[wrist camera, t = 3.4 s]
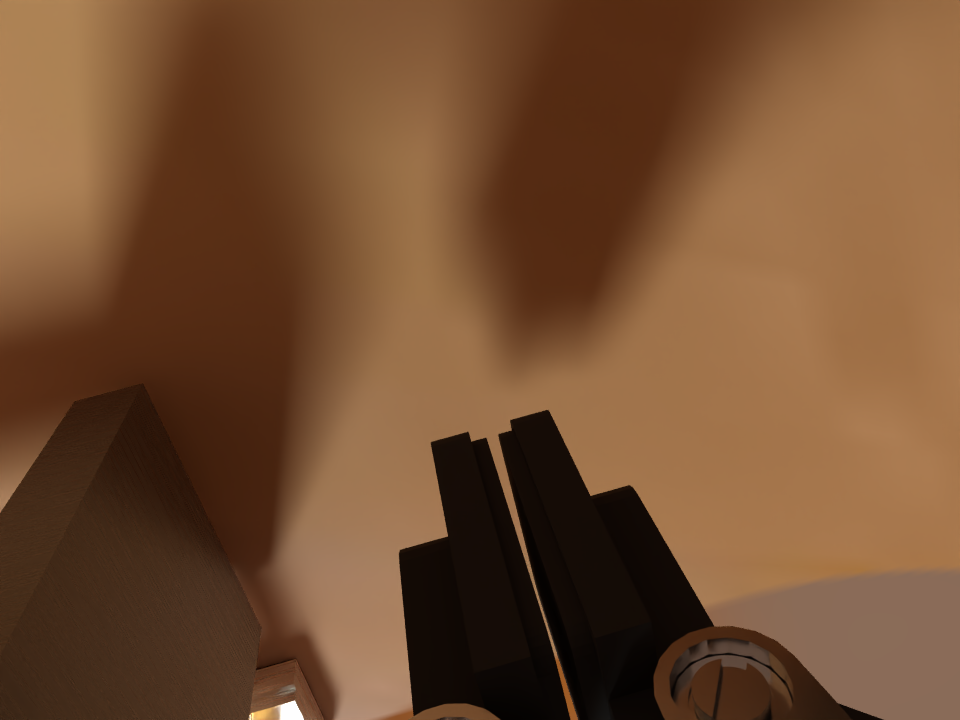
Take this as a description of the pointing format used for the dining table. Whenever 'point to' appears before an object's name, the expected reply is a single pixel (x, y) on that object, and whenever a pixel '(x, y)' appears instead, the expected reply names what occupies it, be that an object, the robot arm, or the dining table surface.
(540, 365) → the dining table surface
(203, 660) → the plunger
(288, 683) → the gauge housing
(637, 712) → the robot arm
